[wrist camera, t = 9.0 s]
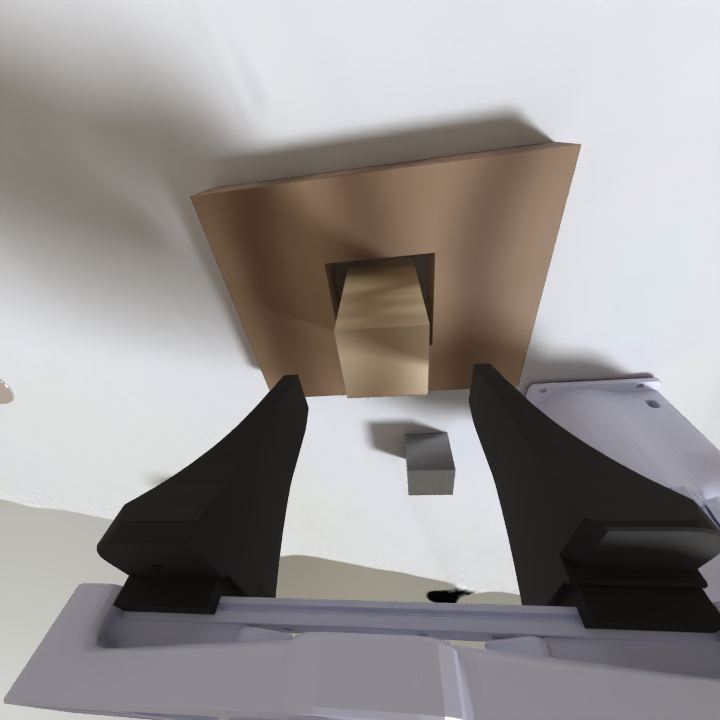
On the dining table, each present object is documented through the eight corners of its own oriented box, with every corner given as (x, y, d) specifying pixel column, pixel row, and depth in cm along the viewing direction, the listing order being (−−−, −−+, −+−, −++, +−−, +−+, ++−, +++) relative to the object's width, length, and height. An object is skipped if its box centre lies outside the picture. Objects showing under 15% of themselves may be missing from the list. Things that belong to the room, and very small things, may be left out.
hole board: (554, 141, 15) (581, 144, 13) (506, 364, 23) (517, 386, 21) (212, 188, 17) (190, 196, 15) (281, 377, 25) (272, 398, 23)
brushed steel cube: (447, 431, 29) (455, 469, 26) (445, 457, 31) (452, 494, 28) (404, 433, 29) (407, 470, 26) (405, 458, 32) (408, 495, 28)
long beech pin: (412, 257, 19) (429, 324, 13) (413, 314, 21) (427, 394, 15) (349, 263, 19) (333, 331, 13) (356, 318, 22) (347, 398, 15)
